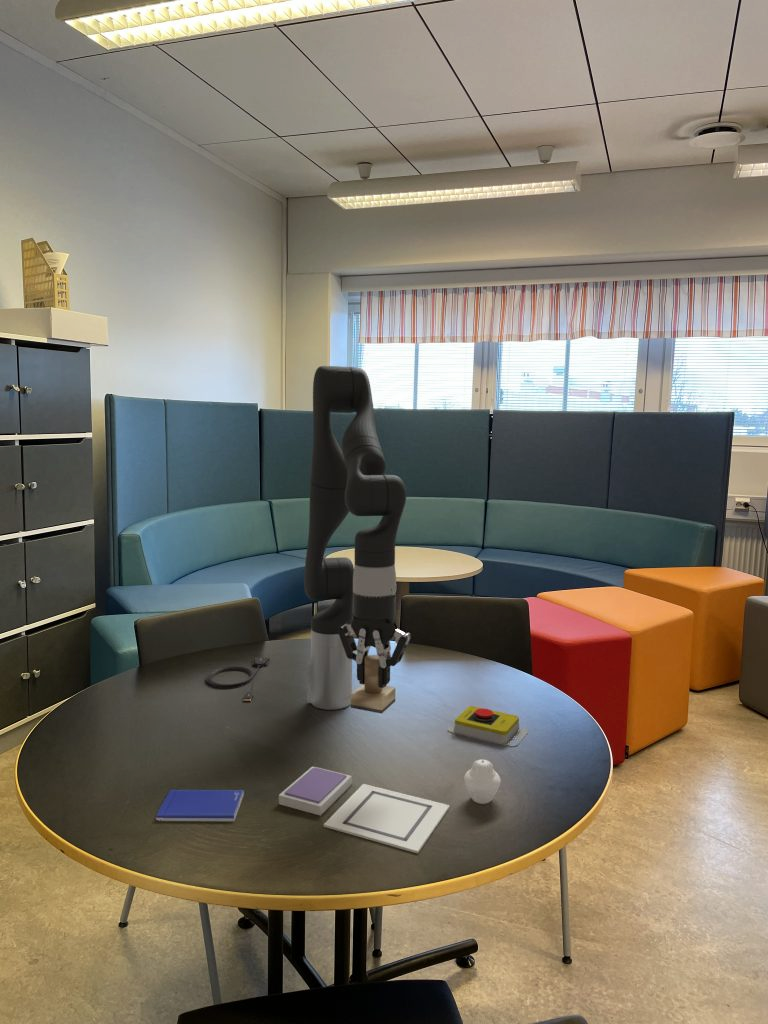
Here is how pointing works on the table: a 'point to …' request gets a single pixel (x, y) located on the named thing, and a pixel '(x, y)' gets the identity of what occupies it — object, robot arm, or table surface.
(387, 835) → the sheet
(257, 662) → the cable
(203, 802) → the blue book
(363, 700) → the stamp
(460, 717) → the emergency button
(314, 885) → the table surface
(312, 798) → the ink pad
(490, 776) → the white rounded piece
